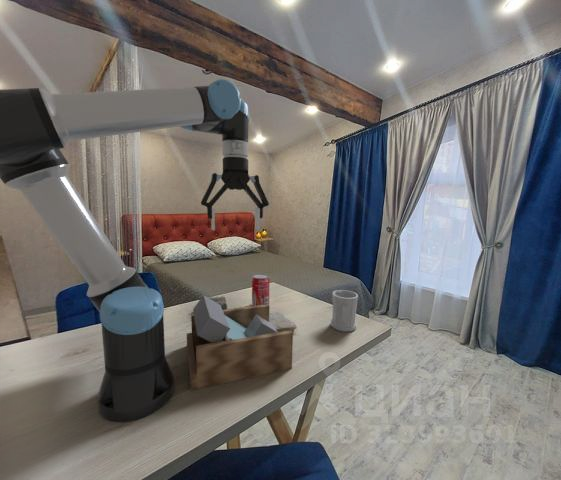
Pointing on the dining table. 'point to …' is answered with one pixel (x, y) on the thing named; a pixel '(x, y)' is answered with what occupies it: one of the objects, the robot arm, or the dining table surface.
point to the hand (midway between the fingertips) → (235, 229)
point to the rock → (220, 301)
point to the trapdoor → (215, 322)
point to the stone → (281, 322)
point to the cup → (344, 310)
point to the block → (259, 327)
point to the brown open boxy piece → (238, 352)
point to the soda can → (260, 290)
